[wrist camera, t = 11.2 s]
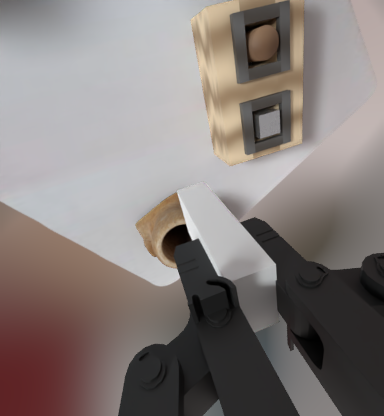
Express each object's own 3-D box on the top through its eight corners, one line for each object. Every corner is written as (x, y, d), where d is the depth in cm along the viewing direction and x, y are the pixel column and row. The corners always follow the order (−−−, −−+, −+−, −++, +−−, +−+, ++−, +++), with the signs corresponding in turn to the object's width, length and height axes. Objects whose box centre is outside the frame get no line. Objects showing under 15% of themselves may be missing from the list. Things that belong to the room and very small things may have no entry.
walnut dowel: (225, 38, 40) (250, 28, 32) (247, 33, 40) (278, 21, 32) (228, 66, 42) (253, 63, 34) (249, 60, 42) (279, 56, 34)
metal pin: (234, 109, 45) (258, 115, 38) (252, 104, 46) (279, 109, 38) (237, 129, 47) (260, 138, 39) (253, 124, 47) (280, 132, 40)
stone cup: (179, 174, 49) (201, 207, 36) (208, 213, 55) (235, 254, 42) (119, 217, 50) (120, 265, 37) (154, 251, 56) (165, 303, 43)
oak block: (190, 19, 38) (209, 4, 30) (271, 0, 39) (309, -19, 32) (214, 154, 49) (232, 168, 41) (277, 134, 50) (305, 144, 43)
